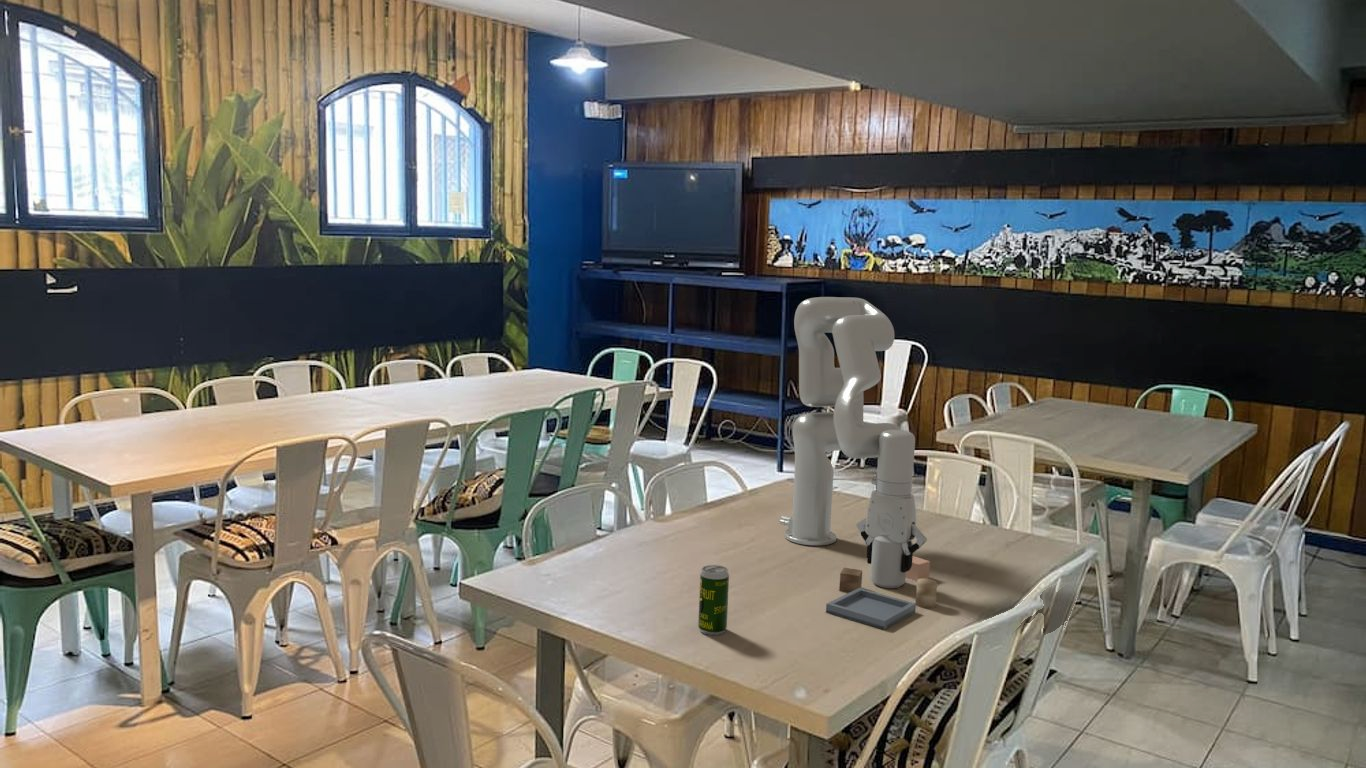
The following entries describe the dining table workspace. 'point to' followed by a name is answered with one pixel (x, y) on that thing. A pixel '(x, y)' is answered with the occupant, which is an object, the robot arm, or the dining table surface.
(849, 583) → the walnut block
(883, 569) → the can
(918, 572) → the terracotta block
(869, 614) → the tray
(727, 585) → the green drink can
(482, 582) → the dining table surface
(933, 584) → the cork cylinder
